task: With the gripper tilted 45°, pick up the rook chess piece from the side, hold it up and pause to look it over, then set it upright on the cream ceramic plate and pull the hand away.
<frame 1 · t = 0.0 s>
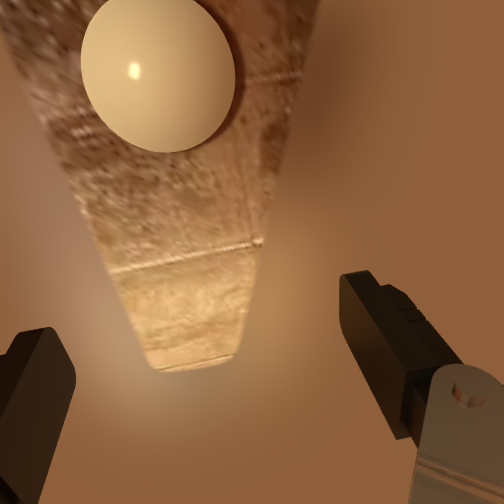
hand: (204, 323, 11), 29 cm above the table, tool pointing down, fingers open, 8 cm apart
cream plate: (161, 76, 33), on the table
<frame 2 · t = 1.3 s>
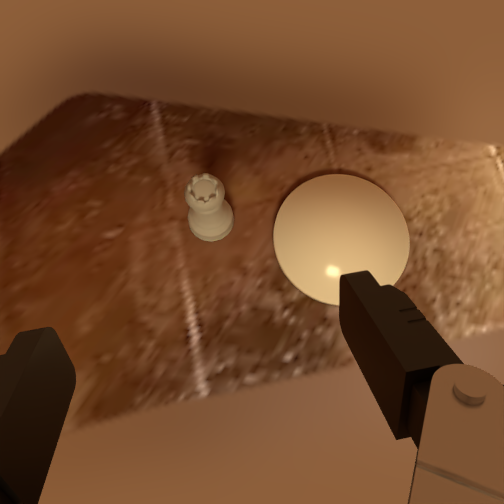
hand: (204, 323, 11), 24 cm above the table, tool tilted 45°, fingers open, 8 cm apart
rook chess piece: (211, 221, 37), on the table
cream plate: (339, 239, 37), on the table
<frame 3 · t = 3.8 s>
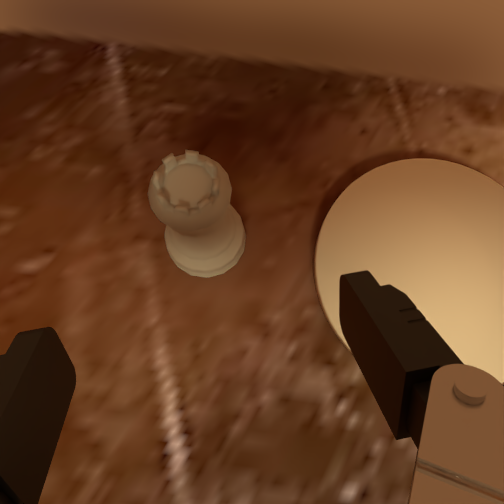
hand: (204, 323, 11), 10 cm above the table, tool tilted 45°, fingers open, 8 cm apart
rook chess piece: (207, 241, 22), on the table
cream plate: (427, 270, 21), on the table
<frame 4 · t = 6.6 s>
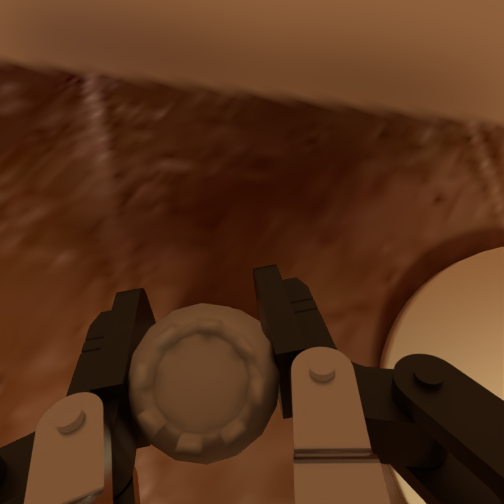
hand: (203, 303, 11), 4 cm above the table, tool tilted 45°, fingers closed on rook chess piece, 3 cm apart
rook chess piece: (222, 364, 15), on the table, touching gripper
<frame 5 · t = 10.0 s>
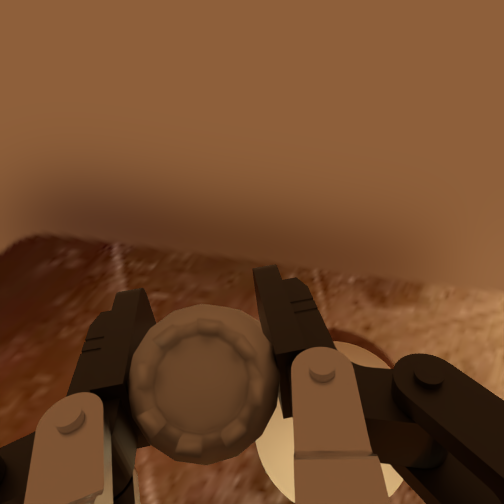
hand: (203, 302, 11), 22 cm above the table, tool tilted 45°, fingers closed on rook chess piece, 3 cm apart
rook chess piece: (222, 364, 15), point 18 cm above the table, touching gripper
cream plate: (332, 421, 31), on the table
when the fingers open (6 cm above the table, at t = 13.5 s): rook chess piece drops 1 cm, resting on cream plate.
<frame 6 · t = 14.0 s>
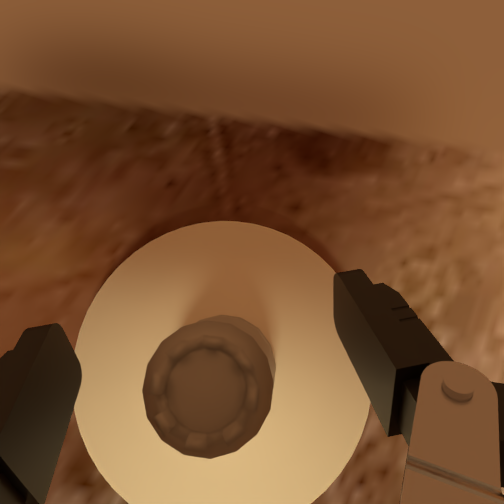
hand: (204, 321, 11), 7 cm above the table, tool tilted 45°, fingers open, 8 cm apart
rook chess piece: (223, 367, 16), point 1 cm above the table, touching cream plate
cream plate: (224, 361, 17), on the table
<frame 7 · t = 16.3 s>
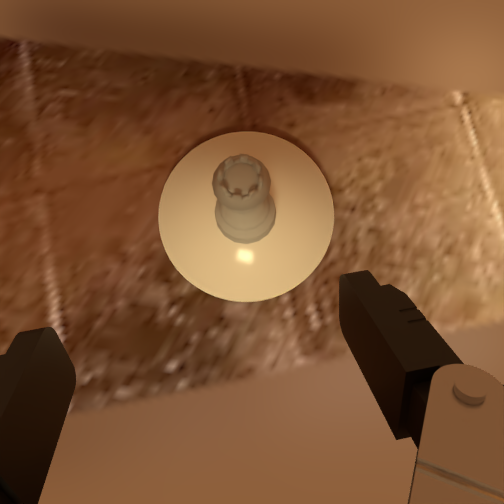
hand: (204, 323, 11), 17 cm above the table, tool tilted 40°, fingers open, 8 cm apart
rook chess piece: (245, 216, 28), point 1 cm above the table, touching cream plate
cream plate: (246, 216, 29), on the table
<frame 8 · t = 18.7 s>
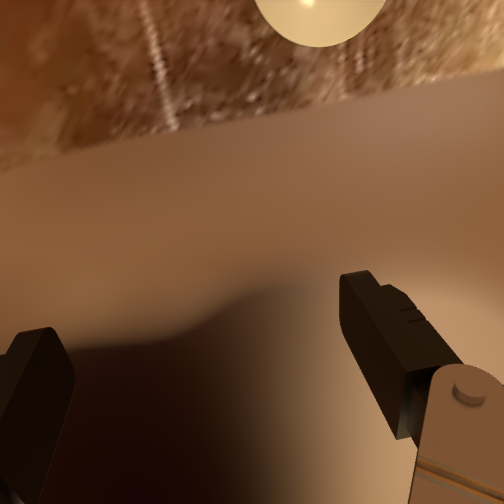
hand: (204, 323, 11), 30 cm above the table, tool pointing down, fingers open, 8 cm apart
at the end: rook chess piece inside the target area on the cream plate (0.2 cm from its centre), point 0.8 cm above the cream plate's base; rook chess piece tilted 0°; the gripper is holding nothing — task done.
